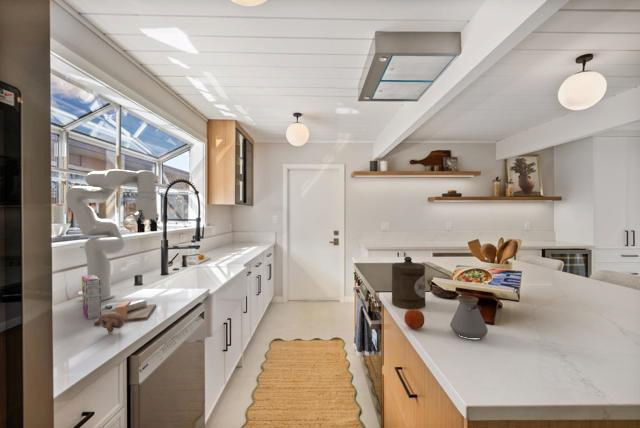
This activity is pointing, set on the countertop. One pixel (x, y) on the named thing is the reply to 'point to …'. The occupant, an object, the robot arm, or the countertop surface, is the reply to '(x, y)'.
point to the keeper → (123, 308)
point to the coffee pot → (468, 318)
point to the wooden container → (408, 284)
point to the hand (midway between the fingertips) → (147, 231)
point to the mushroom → (111, 321)
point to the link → (130, 307)
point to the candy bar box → (91, 296)
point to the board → (136, 314)
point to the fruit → (414, 319)
